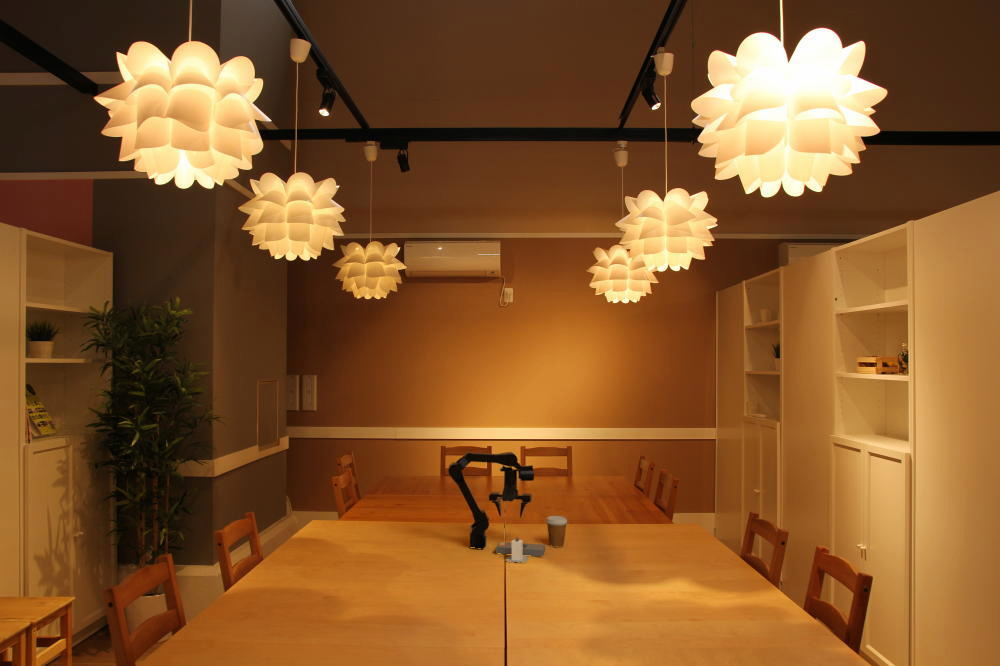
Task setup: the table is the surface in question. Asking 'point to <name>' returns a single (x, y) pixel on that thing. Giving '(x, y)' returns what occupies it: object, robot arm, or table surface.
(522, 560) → the grey square plate
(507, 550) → the grey flat block
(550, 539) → the disposable coffee cup
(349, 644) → the table surface
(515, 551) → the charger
